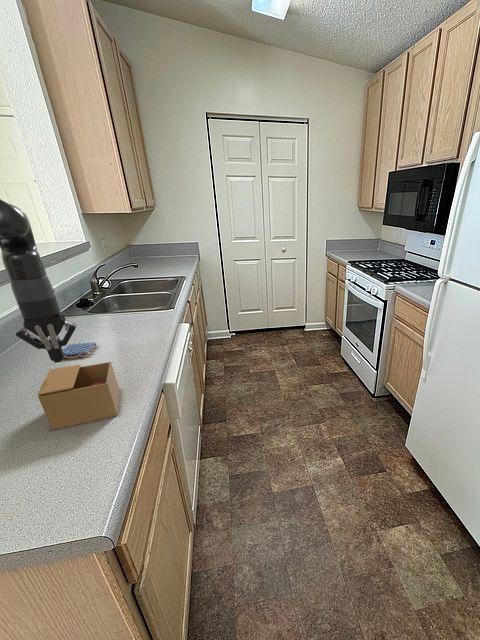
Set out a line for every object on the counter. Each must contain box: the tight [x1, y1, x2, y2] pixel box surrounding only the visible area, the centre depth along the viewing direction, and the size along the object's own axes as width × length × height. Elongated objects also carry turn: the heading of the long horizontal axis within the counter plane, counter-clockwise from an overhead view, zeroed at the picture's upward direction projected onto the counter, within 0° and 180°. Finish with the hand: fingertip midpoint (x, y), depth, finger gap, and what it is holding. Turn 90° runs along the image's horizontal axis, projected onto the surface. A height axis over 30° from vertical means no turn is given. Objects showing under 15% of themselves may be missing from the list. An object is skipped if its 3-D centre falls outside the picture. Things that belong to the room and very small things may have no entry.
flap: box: [37, 363, 82, 396], centre depth 86 cm, size 7×14×1 cm, turn 24°
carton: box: [37, 361, 121, 431], centre depth 90 cm, size 15×14×10 cm
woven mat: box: [62, 341, 98, 359], centre depth 125 cm, size 10×11×2 cm
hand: (59, 361), depth 86 cm, fingers closed
